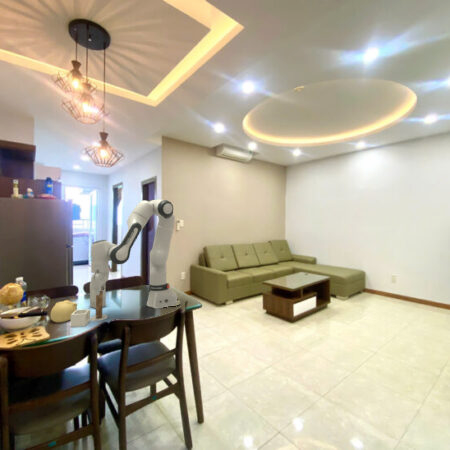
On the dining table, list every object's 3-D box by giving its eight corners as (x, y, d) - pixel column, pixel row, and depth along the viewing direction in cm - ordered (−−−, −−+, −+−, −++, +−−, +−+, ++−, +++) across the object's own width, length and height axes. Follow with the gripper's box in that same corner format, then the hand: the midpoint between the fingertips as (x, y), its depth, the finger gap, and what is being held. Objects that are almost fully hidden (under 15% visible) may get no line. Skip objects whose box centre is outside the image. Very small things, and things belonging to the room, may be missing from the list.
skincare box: (105, 306, 158) (106, 282, 158) (95, 309, 153) (96, 284, 152) (99, 303, 163) (99, 280, 163) (89, 306, 157) (89, 282, 157)
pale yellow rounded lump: (79, 316, 141) (80, 297, 141) (67, 324, 129) (67, 304, 129) (59, 316, 141) (60, 297, 141) (45, 324, 129) (45, 304, 129)
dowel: (103, 316, 141) (103, 290, 140) (101, 318, 137) (101, 292, 137) (96, 316, 140) (97, 290, 140) (94, 318, 137) (95, 292, 136)
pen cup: (89, 321, 134) (90, 309, 134) (85, 327, 127) (85, 314, 127) (76, 322, 132) (76, 309, 132) (70, 328, 126) (70, 314, 126)
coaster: (109, 315, 144) (109, 314, 144) (105, 321, 135) (105, 320, 135) (93, 316, 142) (93, 315, 142) (87, 322, 133) (87, 321, 133)
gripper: (100, 272, 129) (100, 297, 129) (110, 265, 149) (111, 287, 149) (87, 272, 128) (87, 298, 128) (99, 265, 148) (100, 287, 148)
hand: (100, 292), depth 139 cm, fingers open, 8 cm apart
